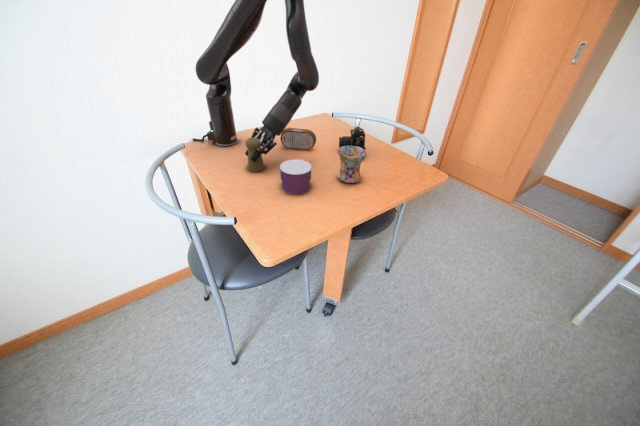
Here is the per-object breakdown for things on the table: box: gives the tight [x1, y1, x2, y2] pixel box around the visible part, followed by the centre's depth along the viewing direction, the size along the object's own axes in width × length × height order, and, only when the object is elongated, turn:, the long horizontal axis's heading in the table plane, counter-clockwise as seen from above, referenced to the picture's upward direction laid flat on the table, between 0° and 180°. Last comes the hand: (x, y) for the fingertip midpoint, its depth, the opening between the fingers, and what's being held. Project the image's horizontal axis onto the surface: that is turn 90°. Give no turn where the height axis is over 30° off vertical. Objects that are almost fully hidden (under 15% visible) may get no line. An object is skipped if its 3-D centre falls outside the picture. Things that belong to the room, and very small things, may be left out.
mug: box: [336, 146, 367, 184], centre depth 95 cm, size 12×9×11 cm
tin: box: [279, 127, 317, 151], centre depth 114 cm, size 15×3×8 cm, turn 84°
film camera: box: [338, 126, 367, 151], centre depth 113 cm, size 18×12×10 cm
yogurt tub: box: [278, 159, 313, 195], centre depth 89 cm, size 10×10×8 cm
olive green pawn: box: [245, 137, 265, 172], centre depth 97 cm, size 6×6×11 cm
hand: (249, 157), depth 97 cm, fingers closed on olive green pawn, 4 cm apart
